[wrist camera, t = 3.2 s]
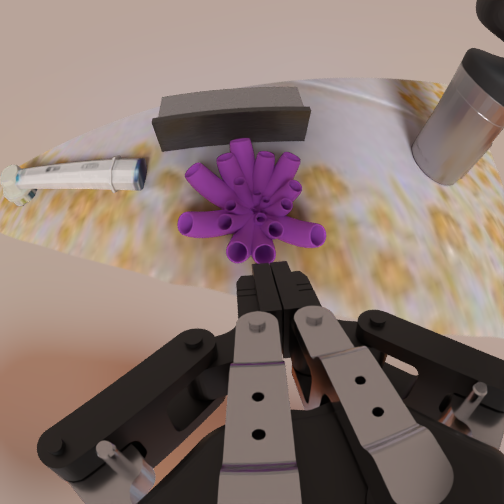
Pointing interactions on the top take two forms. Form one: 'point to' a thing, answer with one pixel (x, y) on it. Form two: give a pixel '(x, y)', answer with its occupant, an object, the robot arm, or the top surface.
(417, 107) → the top surface
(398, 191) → the top surface
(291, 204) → the purple tube coral
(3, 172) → the white handheld device
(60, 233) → the top surface
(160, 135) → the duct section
